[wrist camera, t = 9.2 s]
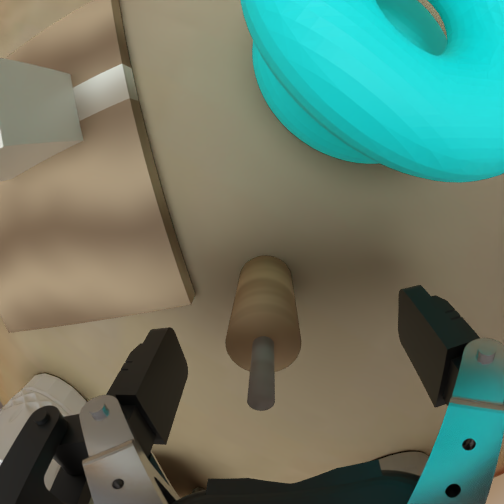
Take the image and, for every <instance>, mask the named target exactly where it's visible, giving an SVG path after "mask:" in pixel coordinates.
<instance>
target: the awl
mask: <svg viewBox="0 0 504 504" xmlns="http://www.w3.org/2000/svg"><path fill="white" fill-rule="evenodd" d="M226 349H227V352H228V354H229V356H230V358H231V359H232V360H233V361H234V362H235V363H236V364H237V365H238V366H240V367H241V368H243V369H245V370H248V371H250V378H249V389H248V399H247V403H248V405H249V406H250V407H251V408H253V409H255V410H260V411H263V410H268V409H270V408H271V407H272V406H273V405H274V403H275V379H274V372H277V371H280V370H282V369H284V368H286V367H288V366H289V365H290V364H292V363H293V361H294V360H295V359H296V358H297V356H298V354H299V352H300V349H301V336H300V329H299V323H298V316H297V309H296V303H295V296H294V290H293V283H292V277H291V273H290V270H289V268H288V267H287V265H286V264H285V263H284V262H283V261H281V260H280V259H278V258H275V257H272V256H259V257H256V258H253V259H252V260H250V261H249V262H247V263H246V264H245V266H244V267H243V268H242V270H241V273H240V277H239V282H238V286H237V291H236V295H235V300H234V304H233V309H232V313H231V318H230V322H229V327H228V331H227V336H226Z"/></svg>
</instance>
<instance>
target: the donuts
mask: <svg viewBox="0 0 504 504" xmlns="http://www.w3.org/2000/svg"><path fill="white" fill-rule="evenodd" d="M428 1H429V2H430V3H431V4H432V5H433V7H434V8H435V9H436V10H437V12H438V13H439V15H440V17H441V19H442V21H443V23H444V25H445V29H446V32H447V38H446V36H445V34H444V32H443V31H442V29H441V27H440V26H439V24H438V23H437V21H436V20H435V19H434V17H433V16H432V15H431V14H430V12H429V11H428V10H427V9H426V8H425V7H424V6H423V5H422V4H421V3H420V2H419V1H417V0H241V5H242V10H243V14H244V18H245V21H246V24H247V27H248V30H249V32H250V35H251V37H252V39H253V47H252V57H253V66H254V71H255V76H256V79H257V82H258V85H259V88H260V90H261V93H262V95H263V97H264V99H265V101H266V102H267V104H268V106H269V107H270V109H271V110H272V112H273V113H274V114H275V116H276V117H277V118H278V120H279V121H280V122H281V123H282V124H283V125H284V126H285V127H286V128H287V129H288V130H289V131H290V132H291V133H292V134H294V135H295V136H296V137H297V138H299V139H300V140H301V141H303V142H304V143H306V144H307V145H309V146H311V147H312V148H314V149H316V150H318V151H320V152H322V153H324V154H326V155H329V156H332V157H335V158H338V159H341V160H345V161H350V162H355V163H364V164H378V163H380V164H382V165H384V166H387V167H389V168H391V169H394V170H397V171H399V172H402V173H405V174H409V175H412V176H416V177H420V178H425V179H430V180H434V181H442V182H472V181H478V180H483V179H487V178H491V177H495V176H498V175H501V174H503V173H504V0H428Z"/></svg>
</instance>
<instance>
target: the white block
mask: <svg viewBox="0 0 504 504" xmlns="http://www.w3.org/2000/svg"><path fill="white" fill-rule="evenodd" d="M81 141H83V137H82V132H81V128H80V123H79V118H78V114H77V109H76V104H75V98H74V93H73V87H72V81H71V75H70V74H68V73H64V72H61V71H57V70H53V69H49V68H45V67H41V66H36V65H32V64H28V63H23V62H18V61H14V60H9V59H4V58H0V182H1V181H5V180H9V179H13V178H14V177H16V176H18V175H19V174H21V173H23V172H24V171H26V170H28V169H30V168H31V167H33V166H35V165H37V164H39V163H40V162H42V161H44V160H46V159H48V158H50V157H52V156H53V155H55V154H57V153H59V152H61V151H63V150H65V149H67V148H69V147H71V146H73V145H75V144H77V143H79V142H81Z"/></svg>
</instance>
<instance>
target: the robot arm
mask: <svg viewBox="0 0 504 504" xmlns="http://www.w3.org/2000/svg"><path fill="white" fill-rule="evenodd" d="M398 332H399V338H400V341H401V344H402V346H403V347H404V349H405V351H406V353H407V355H408V357H409V358H410V360H411V362H412V364H413V366H414V368H415V370H416V371H417V373H418V375H419V377H420V379H421V381H422V383H423V385H424V387H425V389H426V391H427V393H428V395H429V397H430V399H431V401H432V403H433V405H434V407H438V406H441V405H444V404H447V405H448V408H447V411H446V414H445V417H444V420H443V423H442V426H441V428H440V431H439V434H438V437H437V439H436V442H435V444H434V447H433V449H432V452H431V454H430V456H429V457H428V455H426V454H424V453H422V452H405V453H399V454H395V455H391V456H388V457H385V458H382V459H379V460H374V461H370V462H365V463H361V464H356V465H351V466H346V467H341V468H336V469H334V470H331V471H328V472H326V473H323V474H320V475H318V476H315V477H312V478H309V479H306V480H303V481H300V482H297V483H292V484H287V483H278V482H271V481H263V480H257V479H250V478H240V479H208V483H207V488H206V490H202V491H198V492H195V493H192V494H189V495H187V496H184V497H182V498H180V497H179V496H178V494H177V493H176V492H175V490H174V488H173V487H172V485H171V484H170V482H169V480H168V479H167V477H166V475H165V473H164V472H163V470H162V468H161V466H160V465H159V463H158V461H157V459H156V457H155V456H154V454H153V453H152V451H151V449H152V446H153V444H165V445H166V443H167V440H168V437H169V434H170V430H171V427H172V424H173V421H174V418H175V414H176V411H177V408H178V405H179V402H180V399H181V395H182V392H183V389H184V386H185V383H186V380H187V376H188V367H187V362H186V359H185V357H184V354H183V352H182V349H181V347H180V344H179V342H178V339H177V336H176V334H175V332H174V330H173V329H172V328H161V329H152V330H150V332H149V334H148V335H147V337H146V339H145V341H144V342H143V344H139V345H138V346H137V347H136V348H135V349H134V350H133V351H132V352H131V353H130V354H129V356H128V358H127V360H126V361H125V362H126V363H124V365H123V366H122V368H121V371H120V372H119V373H118V375H117V377H116V379H115V380H114V382H113V384H112V386H111V387H110V389H109V391H108V393H107V394H106V395H101V396H98V397H95V398H93V399H91V400H90V401H88V402H87V403H86V404H85V405H84V406H83V407H82V409H81V411H80V414H76V415H70V416H64V417H63V415H62V414H61V412H60V411H59V410H58V408H57V407H55V406H52V405H48V406H43V407H41V408H39V409H37V410H36V411H34V412H33V413H32V414H31V416H30V417H29V418H28V420H27V422H26V423H25V425H24V426H23V428H22V430H21V431H20V433H19V435H18V436H17V438H16V439H15V441H14V443H13V444H12V446H11V448H10V450H9V451H8V453H7V455H6V456H5V458H4V460H3V462H2V463H1V465H0V504H89V502H90V499H91V496H92V499H93V502H94V504H485V503H486V500H487V497H488V494H489V490H490V487H491V484H492V480H493V477H494V473H495V470H496V466H497V462H498V457H499V453H500V449H501V444H502V439H503V434H504V345H503V344H502V343H500V342H498V341H496V340H494V339H490V338H480V337H479V336H478V335H477V334H476V333H475V331H474V330H473V329H472V328H471V327H470V326H469V325H468V323H467V322H466V321H465V320H464V319H463V318H462V317H460V315H459V313H458V312H457V311H455V309H454V308H453V307H452V306H451V305H450V304H449V303H448V301H446V300H444V299H442V298H440V297H438V296H432V297H431V296H430V295H429V294H428V292H427V291H426V290H425V289H424V288H423V287H422V286H421V285H418V286H414V287H409V288H405V289H401V290H400V291H399V314H398ZM52 459H54V460H55V461H56V462H57V463H58V464H59V465H60V466H61V467H60V469H59V471H58V473H57V475H56V478H55V480H54V482H53V484H52V487H51V489H50V491H49V490H48V489H47V488H46V486H45V483H44V476H45V473H46V471H47V469H48V467H49V465H50V463H51V461H52Z"/></svg>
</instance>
